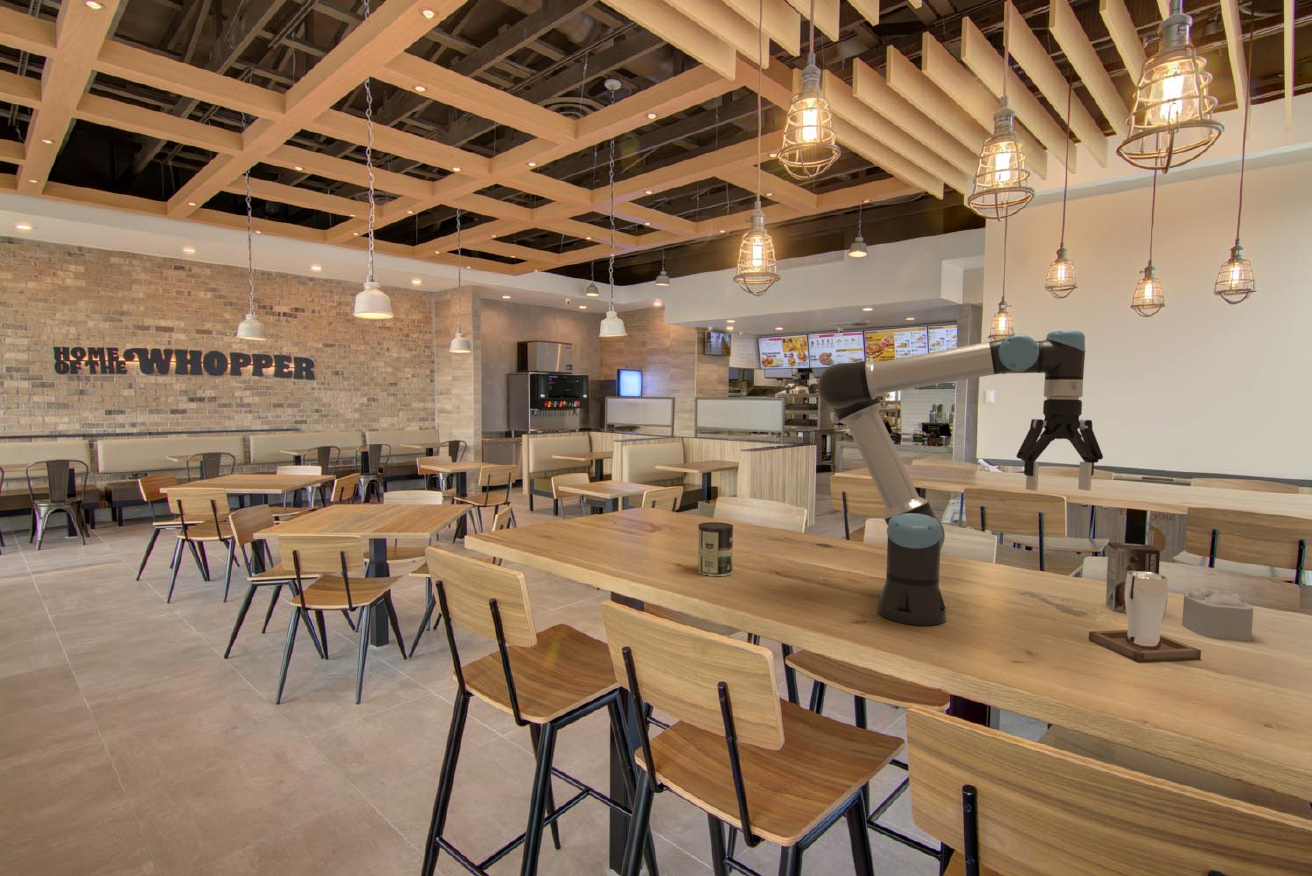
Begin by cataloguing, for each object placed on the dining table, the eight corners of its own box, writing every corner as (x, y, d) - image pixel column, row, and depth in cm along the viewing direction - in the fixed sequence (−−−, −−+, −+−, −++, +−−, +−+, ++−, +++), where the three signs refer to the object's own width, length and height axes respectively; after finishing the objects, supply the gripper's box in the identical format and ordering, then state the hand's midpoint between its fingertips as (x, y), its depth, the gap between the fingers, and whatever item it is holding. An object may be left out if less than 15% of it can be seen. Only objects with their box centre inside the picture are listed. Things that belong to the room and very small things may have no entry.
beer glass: (1149, 640, 134) (1153, 571, 133) (1173, 653, 127) (1177, 580, 126) (1114, 639, 135) (1118, 569, 134) (1135, 651, 128) (1139, 578, 127)
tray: (1138, 662, 124) (1138, 653, 124) (1088, 639, 136) (1089, 631, 136) (1200, 659, 126) (1201, 650, 126) (1146, 637, 138) (1146, 628, 138)
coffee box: (1147, 608, 158) (1150, 544, 157) (1158, 616, 152) (1161, 549, 151) (1104, 603, 161) (1107, 541, 160) (1113, 611, 155) (1116, 546, 154)
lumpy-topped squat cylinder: (1201, 637, 138) (1204, 598, 138) (1170, 618, 151) (1172, 582, 150) (1259, 642, 135) (1262, 603, 135) (1223, 622, 148) (1225, 586, 148)
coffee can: (730, 567, 192) (731, 522, 191) (734, 577, 182) (735, 528, 181) (696, 567, 192) (697, 521, 191) (698, 576, 182) (699, 528, 181)
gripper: (1025, 397, 141) (1020, 492, 142) (1124, 399, 144) (1119, 491, 145) (1002, 397, 148) (998, 487, 149) (1097, 399, 151) (1092, 487, 153)
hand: (1058, 490), depth 147 cm, fingers open, 13 cm apart
